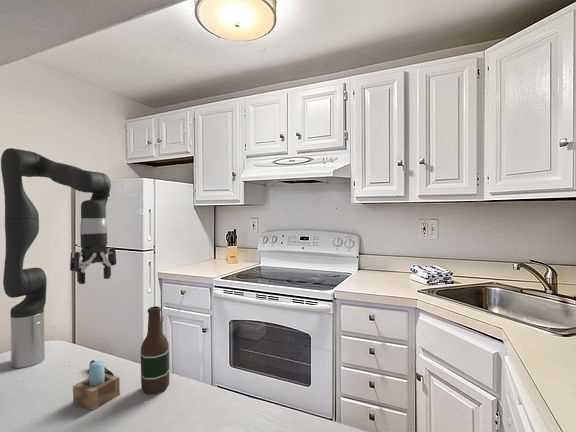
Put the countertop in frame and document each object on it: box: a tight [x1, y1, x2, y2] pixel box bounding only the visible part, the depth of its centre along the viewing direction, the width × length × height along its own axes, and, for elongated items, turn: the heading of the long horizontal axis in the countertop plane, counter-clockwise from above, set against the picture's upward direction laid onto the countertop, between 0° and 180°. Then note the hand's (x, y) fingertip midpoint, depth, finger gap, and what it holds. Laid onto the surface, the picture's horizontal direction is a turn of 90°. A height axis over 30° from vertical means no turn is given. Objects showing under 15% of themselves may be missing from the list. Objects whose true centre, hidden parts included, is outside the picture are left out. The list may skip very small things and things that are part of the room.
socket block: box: [72, 373, 121, 411], centre depth 89 cm, size 8×8×5 cm
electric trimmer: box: [89, 360, 115, 376], centre depth 103 cm, size 4×16×3 cm, turn 48°
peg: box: [88, 360, 105, 388], centre depth 89 cm, size 4×4×10 cm
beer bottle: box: [140, 306, 170, 396], centre depth 94 cm, size 8×8×24 cm
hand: (94, 281), depth 104 cm, fingers open, 8 cm apart
